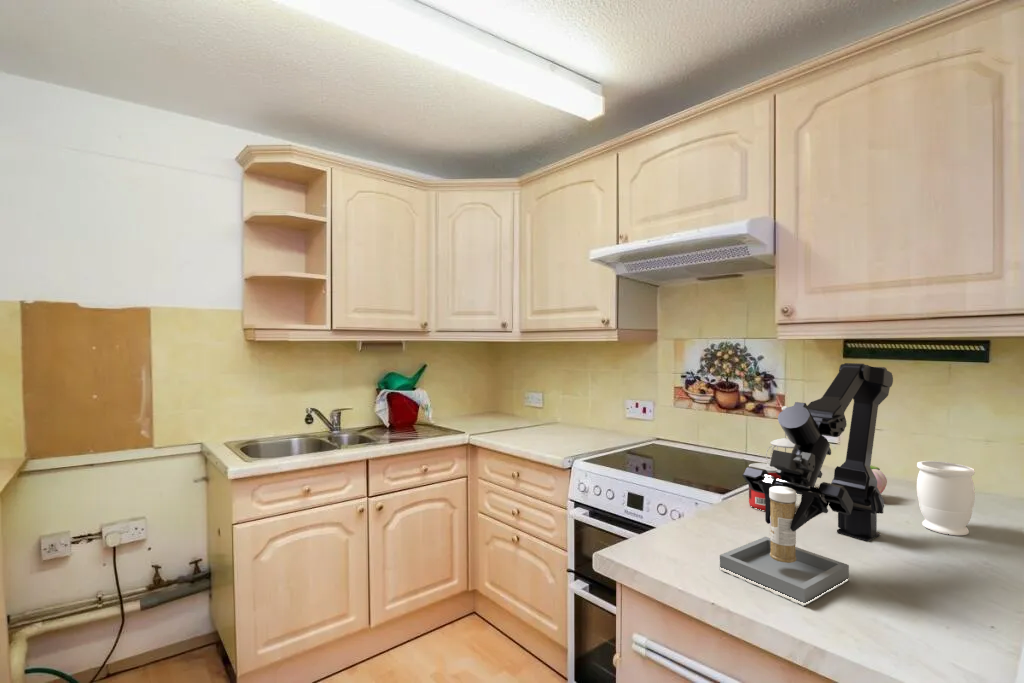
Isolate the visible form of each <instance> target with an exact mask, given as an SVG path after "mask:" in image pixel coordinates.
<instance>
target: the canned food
mask: <svg viewBox="0 0 1024 683" xmlns="http://www.w3.org/2000/svg"><path fill="white" fill-rule="evenodd" d="M750 466H751V467H756V468H760V469H765V470H766V471H767V472H768V474H769V475H770V476H773V477H775V478H776V479H781V476H779V475H777V473H776V470H777V469H776V468H775V467H771V466H770V463H768V464H767V462H766V463H763V462H757V463H756V462H755V463H750V464H748V467H750ZM748 504H749V506H750V507H751V506H752V507H754V508H757V509H761V510H765V494H764V493H760V492H756V491H754V490H752V489H751V488H750V486H749V485H748ZM752 507H751V508H752ZM754 508H753V509H754Z"/></svg>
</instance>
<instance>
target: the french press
mask: <svg viewBox="0 0 1024 683" xmlns="http://www.w3.org/2000/svg"><path fill="white" fill-rule="evenodd" d="M788 407H789V406H786V405H783V406H782V407H781V410H782V411H783V410H784V409H786V408H788ZM769 443H770V444H771V446H768V448H767V449H766V451H765V459H766V464H769V461H768V452H769V450H770V448H771V450H770V453H773V450H775V448H776V450H777V451H779V448H782V449H783V448H784V452H787V449H793V448H794V446H795V444H794V443H792V442H791V441H790V440H789V439H788V437H787V435H786V434H785V433H784V437H783V438H778V439H777V438H776V439H774V440H771V441H770V442H769ZM771 457H772V454H770V459H771Z"/></svg>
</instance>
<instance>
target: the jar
mask: <svg viewBox="0 0 1024 683" xmlns="http://www.w3.org/2000/svg"><path fill="white" fill-rule="evenodd" d="M916 468H918V469H919V472H918V474H917V479H916V495H917V499H918V504H919V510H920V512H921V514H922V516H923V518H924V520H922V521H921V524H922V527H924V528H926V529H928V530H930V531H933V532H935V533H939V534H944V535H948V534H949V536H950V535H951V536H966V535H969V533H970V531H969V529H968V527H967V525H969V523H970V521H971V519H972V515H973V508H974V507H975V506H974V505H975V502H976V500H975V499H976V492H975V484H974V480H973V478H972V476H974V475H975V473H976V472H975V469H974V468H973V467H970V466H967V465H965V464H964V465H963V464H958V463H954V462H953V463H952V462H946V461H936V460H921V461H918V462H917V461H916Z"/></svg>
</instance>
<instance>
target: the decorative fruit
mask: <svg viewBox="0 0 1024 683" xmlns="http://www.w3.org/2000/svg"><path fill="white" fill-rule="evenodd" d="M870 468H871V470H872V471H873V473H874V475H875V477H876V479H877V488H878V490H879V492H880V494H881V495H882V493H883V492H884V491H885V489H886V487H887V485H888V479H887V477H886V475H885V474H884V473H883V472H882V471H881V470H880V469H881V468H880V467H878V466H875V465H870Z"/></svg>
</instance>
